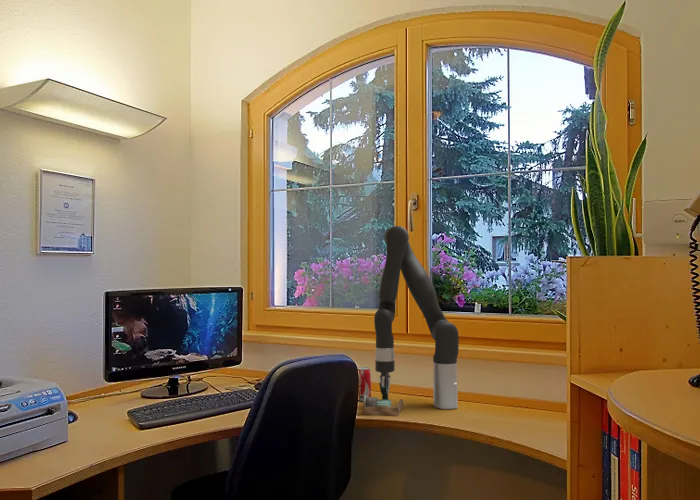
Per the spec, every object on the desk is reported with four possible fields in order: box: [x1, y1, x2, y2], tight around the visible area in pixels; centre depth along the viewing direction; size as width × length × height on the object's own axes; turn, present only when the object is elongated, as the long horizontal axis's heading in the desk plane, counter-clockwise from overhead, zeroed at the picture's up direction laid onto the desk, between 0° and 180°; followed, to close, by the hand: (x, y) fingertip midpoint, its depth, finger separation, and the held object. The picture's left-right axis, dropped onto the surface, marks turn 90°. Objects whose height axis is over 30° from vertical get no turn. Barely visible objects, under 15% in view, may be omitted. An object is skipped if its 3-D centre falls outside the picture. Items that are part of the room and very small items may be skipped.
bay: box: [360, 395, 404, 417], centre depth 209 cm, size 14×17×7 cm
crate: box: [377, 398, 392, 407], centre depth 208 cm, size 8×8×4 cm
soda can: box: [357, 366, 372, 402], centre depth 227 cm, size 7×7×13 cm
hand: (385, 403), depth 214 cm, fingers closed
